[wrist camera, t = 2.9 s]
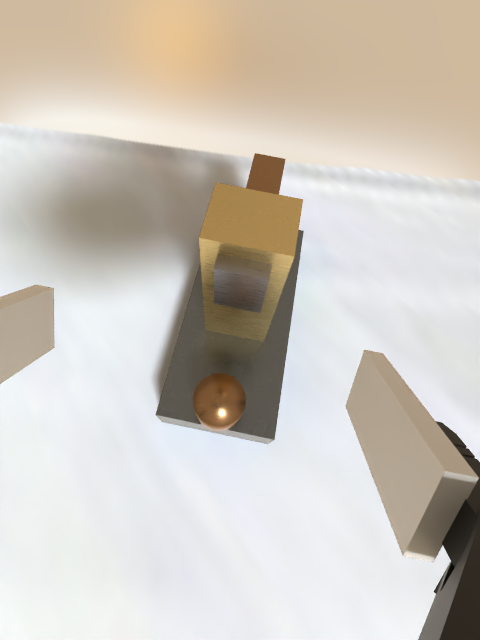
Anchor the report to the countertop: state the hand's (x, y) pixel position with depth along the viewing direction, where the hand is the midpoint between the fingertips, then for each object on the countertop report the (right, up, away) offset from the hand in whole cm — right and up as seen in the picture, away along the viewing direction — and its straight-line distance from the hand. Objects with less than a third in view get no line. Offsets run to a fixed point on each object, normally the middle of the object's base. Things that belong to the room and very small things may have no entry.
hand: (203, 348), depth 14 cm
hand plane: (+1, +1, +18) cm, 18 cm away
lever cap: (+1, +2, +15) cm, 15 cm away
